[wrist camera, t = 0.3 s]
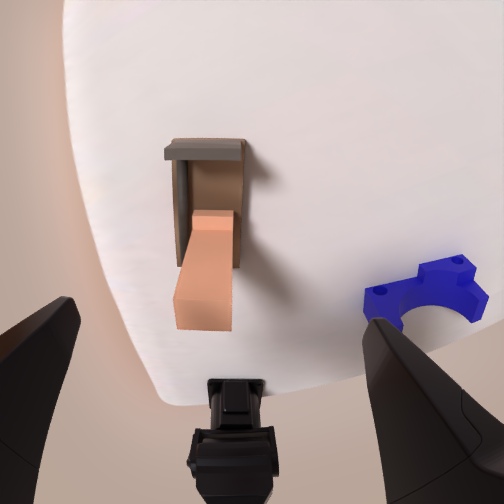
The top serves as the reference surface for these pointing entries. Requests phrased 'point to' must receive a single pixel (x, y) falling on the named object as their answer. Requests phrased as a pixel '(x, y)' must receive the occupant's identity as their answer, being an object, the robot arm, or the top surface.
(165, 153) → the grey block holder
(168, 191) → the top surface
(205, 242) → the block
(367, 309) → the cable clip
